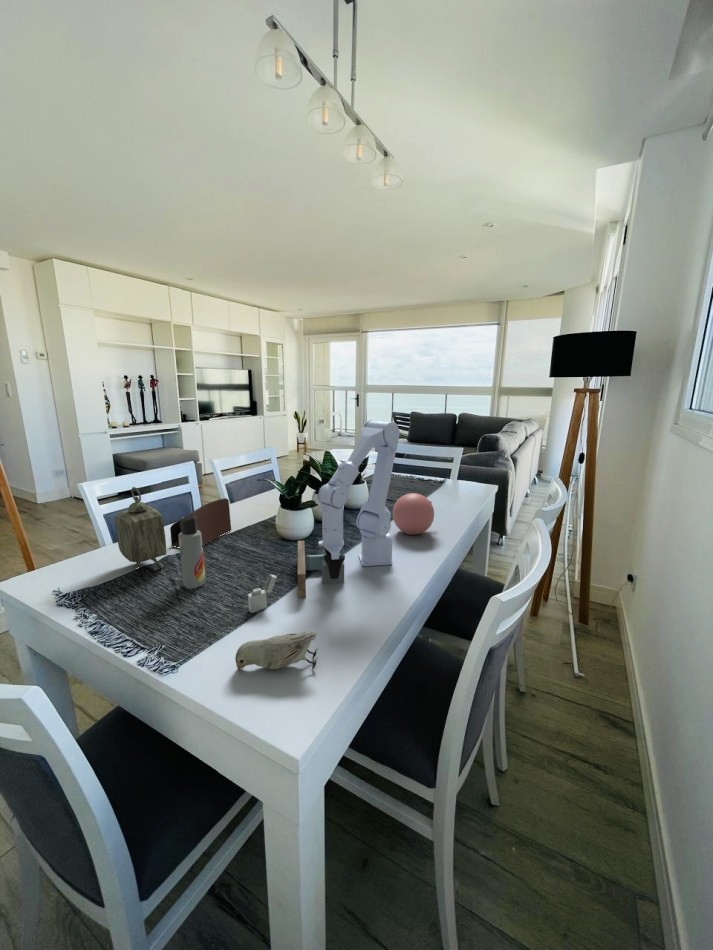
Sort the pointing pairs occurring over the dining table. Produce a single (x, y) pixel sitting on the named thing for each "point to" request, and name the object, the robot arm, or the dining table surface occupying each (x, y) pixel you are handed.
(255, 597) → the lighter
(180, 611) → the dining table surface
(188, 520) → the lotion bottle
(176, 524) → the letter holder
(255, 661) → the decorative bird
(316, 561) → the door
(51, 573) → the dining table surface
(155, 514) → the tabletop clock
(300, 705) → the dining table surface
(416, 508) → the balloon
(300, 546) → the wooden plank
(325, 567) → the block
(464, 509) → the dining table surface
